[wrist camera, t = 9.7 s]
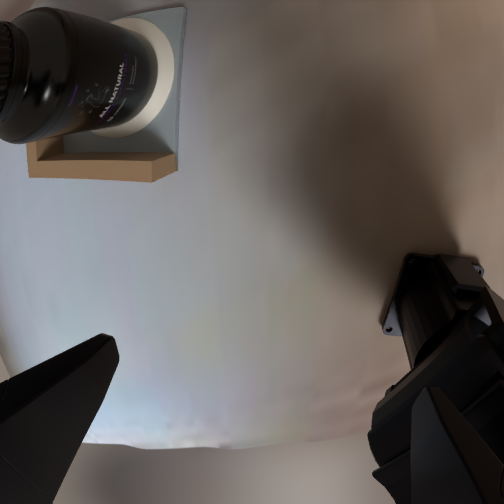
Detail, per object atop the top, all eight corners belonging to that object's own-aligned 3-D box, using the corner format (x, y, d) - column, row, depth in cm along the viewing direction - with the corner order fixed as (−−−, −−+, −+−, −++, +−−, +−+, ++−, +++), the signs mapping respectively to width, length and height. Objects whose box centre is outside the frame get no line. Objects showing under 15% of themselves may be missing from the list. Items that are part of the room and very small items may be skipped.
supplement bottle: (169, 113, 17) (5, 139, 7) (87, 136, 19) (-59, 181, 8) (157, 15, 15) (7, -35, 4) (77, 49, 16) (-66, 50, 6)
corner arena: (177, 170, 20) (152, 182, 16) (59, 166, 21) (28, 177, 18) (186, 8, 15) (162, -8, 12) (61, 36, 16) (30, 33, 13)
